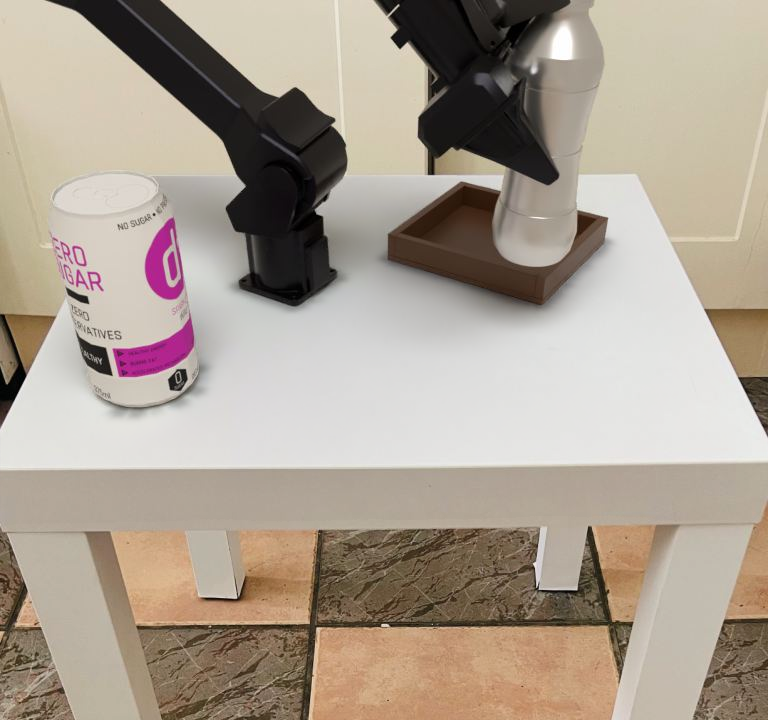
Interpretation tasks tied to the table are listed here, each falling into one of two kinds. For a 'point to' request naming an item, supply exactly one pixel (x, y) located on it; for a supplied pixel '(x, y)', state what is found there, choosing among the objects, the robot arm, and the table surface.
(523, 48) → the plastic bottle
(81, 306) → the white soda can
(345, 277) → the table surface
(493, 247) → the tray
